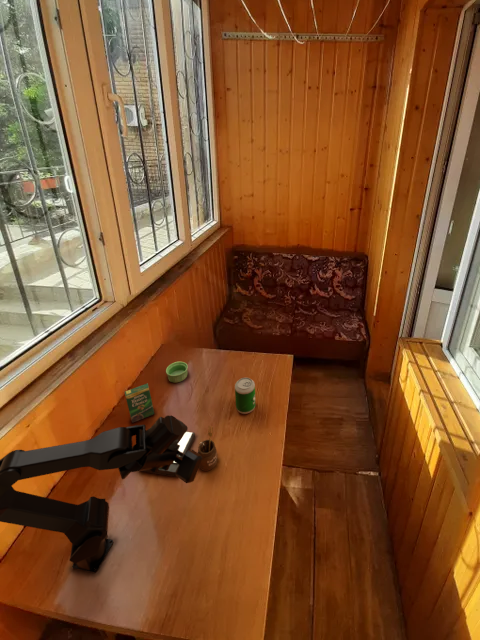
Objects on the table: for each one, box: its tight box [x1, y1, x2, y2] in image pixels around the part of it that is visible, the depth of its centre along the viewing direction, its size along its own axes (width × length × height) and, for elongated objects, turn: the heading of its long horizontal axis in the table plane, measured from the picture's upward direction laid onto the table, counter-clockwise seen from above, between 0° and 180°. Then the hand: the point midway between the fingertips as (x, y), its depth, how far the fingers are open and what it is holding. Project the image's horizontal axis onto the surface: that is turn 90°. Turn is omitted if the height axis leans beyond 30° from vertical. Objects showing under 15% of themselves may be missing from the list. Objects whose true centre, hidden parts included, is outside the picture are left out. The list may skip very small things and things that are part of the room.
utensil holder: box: [197, 425, 218, 472], centre depth 98 cm, size 6×6×12 cm
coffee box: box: [124, 382, 155, 424], centre depth 113 cm, size 8×3×13 cm, turn 121°
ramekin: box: [165, 361, 189, 384], centre depth 135 cm, size 9×9×4 cm
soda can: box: [234, 377, 257, 415], centre depth 118 cm, size 8×8×12 cm
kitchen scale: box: [142, 431, 196, 478], centre depth 102 cm, size 14×12×2 cm
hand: (188, 451), depth 89 cm, fingers open, 9 cm apart
